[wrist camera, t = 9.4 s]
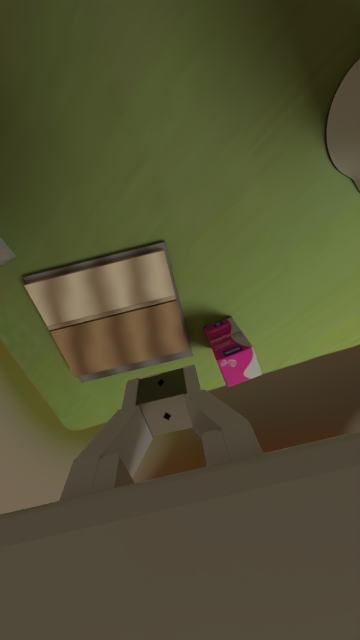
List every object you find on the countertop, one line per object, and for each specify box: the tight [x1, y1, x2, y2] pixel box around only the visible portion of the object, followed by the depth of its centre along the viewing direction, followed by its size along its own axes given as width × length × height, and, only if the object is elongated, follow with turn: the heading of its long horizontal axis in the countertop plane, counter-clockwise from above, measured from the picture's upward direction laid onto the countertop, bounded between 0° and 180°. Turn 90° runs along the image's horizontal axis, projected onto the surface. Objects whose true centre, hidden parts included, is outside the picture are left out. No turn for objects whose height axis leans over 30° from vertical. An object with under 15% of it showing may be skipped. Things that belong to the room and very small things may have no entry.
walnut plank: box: [50, 299, 189, 377], centre depth 39 cm, size 22×10×2 cm, turn 103°
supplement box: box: [204, 316, 262, 387], centre depth 38 cm, size 6×6×12 cm
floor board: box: [23, 241, 193, 382], centre depth 38 cm, size 23×22×3 cm
